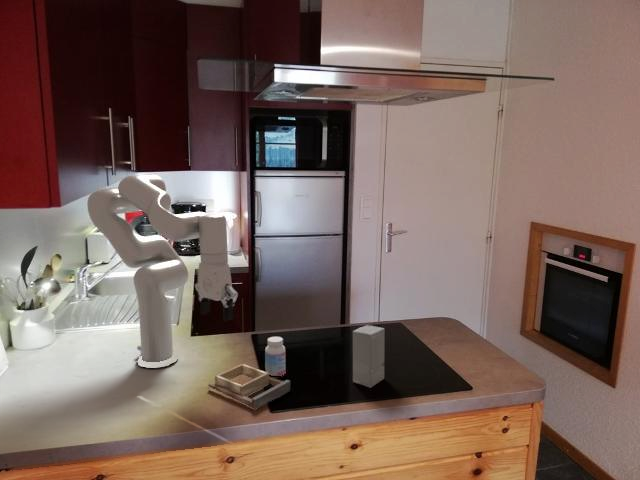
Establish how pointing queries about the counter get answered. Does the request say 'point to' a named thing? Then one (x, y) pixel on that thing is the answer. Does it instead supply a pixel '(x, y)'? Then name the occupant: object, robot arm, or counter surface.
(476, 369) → the counter surface
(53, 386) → the counter surface
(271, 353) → the pill bottle
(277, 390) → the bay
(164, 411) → the counter surface
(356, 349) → the skincare box
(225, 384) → the crate
